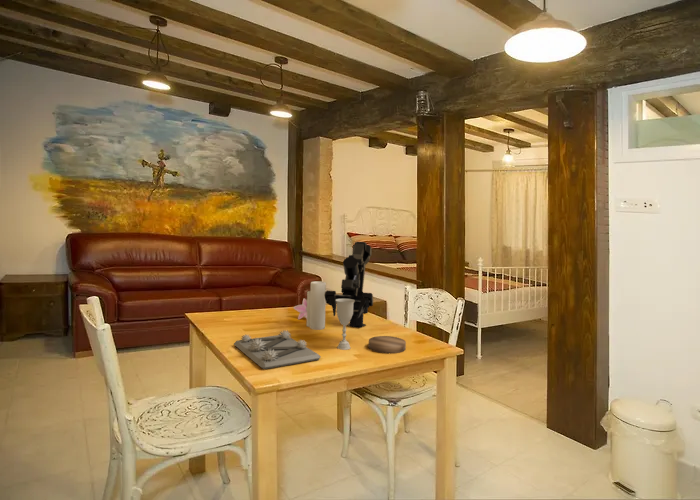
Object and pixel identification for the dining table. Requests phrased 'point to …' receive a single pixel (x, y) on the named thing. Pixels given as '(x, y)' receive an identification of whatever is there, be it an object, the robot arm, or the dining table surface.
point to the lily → (302, 309)
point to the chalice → (344, 319)
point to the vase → (316, 305)
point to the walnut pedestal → (387, 344)
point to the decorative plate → (276, 350)
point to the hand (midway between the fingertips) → (345, 316)
